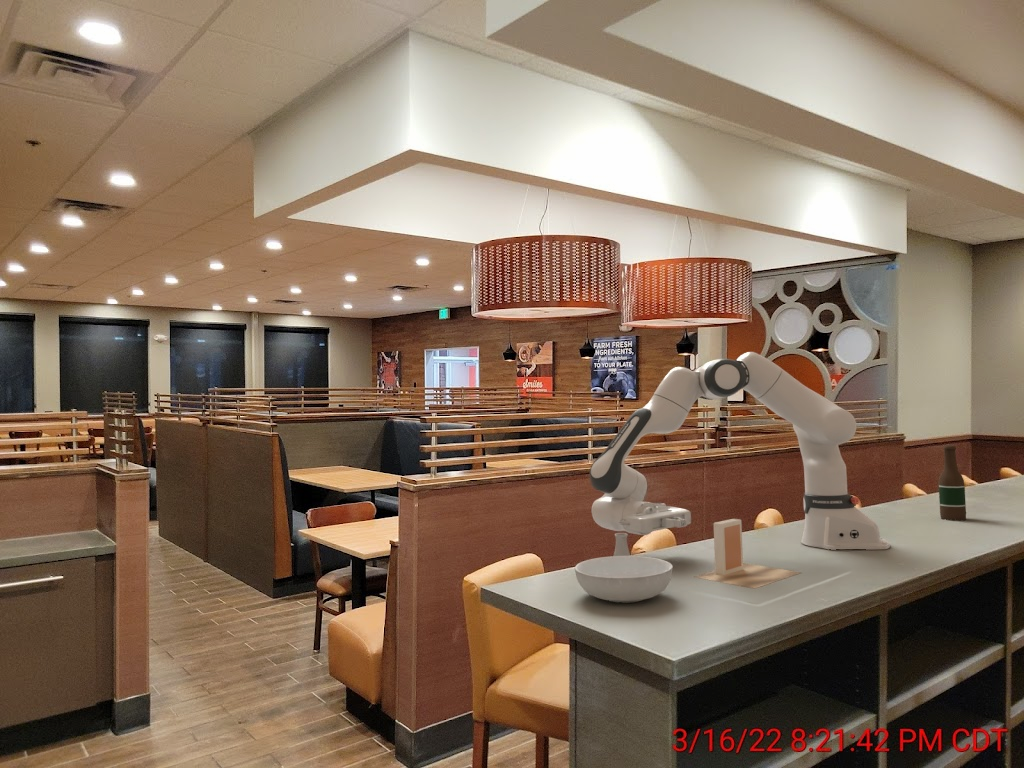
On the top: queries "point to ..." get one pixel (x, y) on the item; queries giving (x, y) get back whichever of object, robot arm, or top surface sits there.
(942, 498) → the beer bottle
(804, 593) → the top surface
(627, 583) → the serving bowl
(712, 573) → the wooden board
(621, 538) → the flask
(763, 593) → the top surface
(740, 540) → the tile
